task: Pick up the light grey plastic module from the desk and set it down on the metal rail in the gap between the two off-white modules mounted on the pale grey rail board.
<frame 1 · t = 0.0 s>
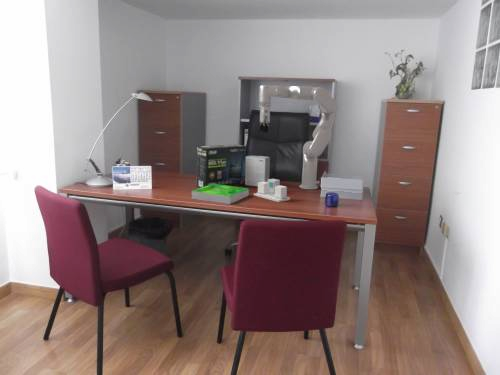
hand: (263, 131, 267), 37 cm above the table, tool pointing down, fingers open, 9 cm apart
tray: (220, 198, 245), on the table
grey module: (273, 192, 263), on the table
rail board: (271, 197, 248), on the table
router box: (221, 185, 280), on the table
hard drive box: (256, 185, 282), on the table
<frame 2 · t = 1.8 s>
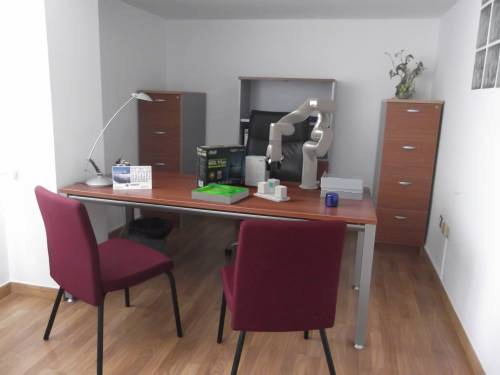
hand: (273, 170, 260), 14 cm above the table, tool pointing down, fingers open, 9 cm apart
nothing on the table moved.
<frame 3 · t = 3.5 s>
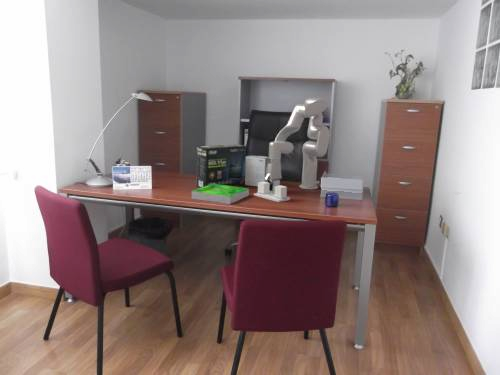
hand: (273, 189, 263), 2 cm above the table, tool pointing down, fingers closed on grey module, 5 cm apart
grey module: (273, 192, 263), on the table, touching gripper
everything else where it was.
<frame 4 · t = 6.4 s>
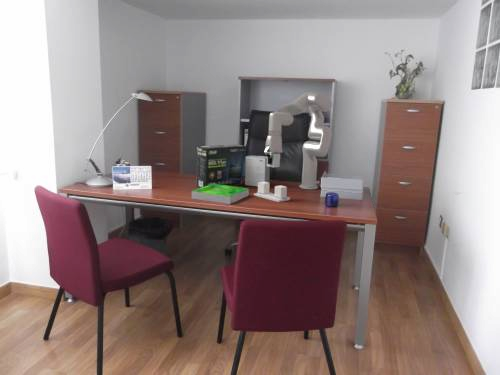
hand: (273, 163, 248), 20 cm above the table, tool pointing down, fingers closed on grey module, 5 cm apart
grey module: (273, 166, 248), point 18 cm above the table, touching gripper
everything else where it was.
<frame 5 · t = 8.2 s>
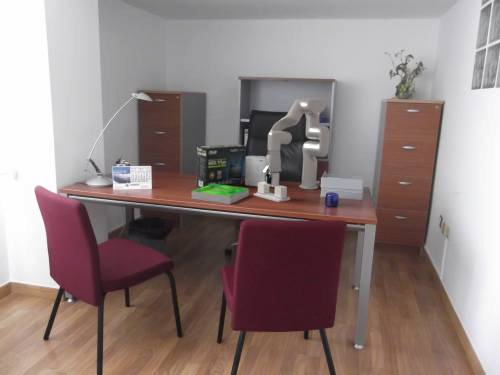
hand: (272, 182, 246), 9 cm above the table, tool pointing down, fingers closed on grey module, 5 cm apart
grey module: (272, 185, 246), point 7 cm above the table, touching gripper
everything else where it was.
when the fingers open (5 cm above the table, at t = 9.5 s): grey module stays where it is, resting on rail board.
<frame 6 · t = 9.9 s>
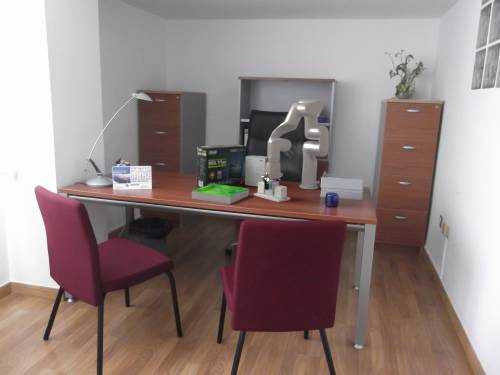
hand: (272, 188, 247), 5 cm above the table, tool pointing down, fingers open, 9 cm apart
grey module: (272, 194, 248), point 2 cm above the table, touching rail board
everything else where it was.
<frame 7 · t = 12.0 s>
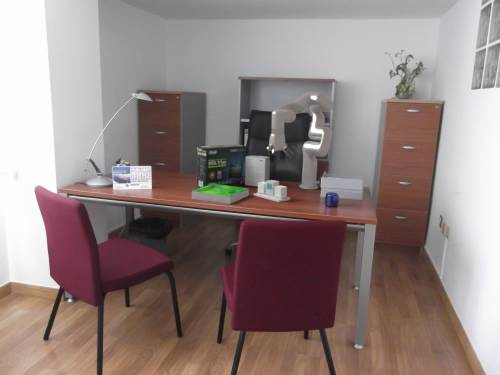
hand: (277, 159, 249), 22 cm above the table, tool pointing down, fingers open, 9 cm apart
nothing on the table moved.
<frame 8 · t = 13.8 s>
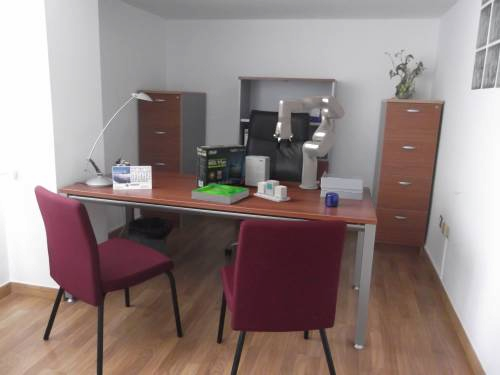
hand: (282, 148, 258), 28 cm above the table, tool pointing down, fingers open, 9 cm apart
nothing on the table moved.
at the end: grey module 0.3 cm off-centre on the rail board, point 2.0 cm above the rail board's base; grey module tilted 0°; the gripper is holding nothing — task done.
